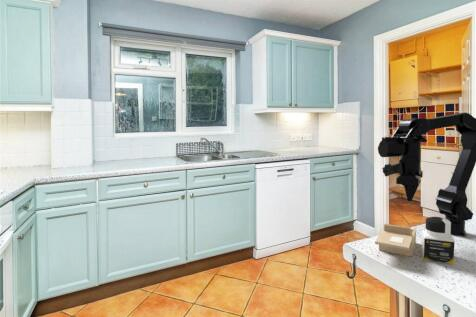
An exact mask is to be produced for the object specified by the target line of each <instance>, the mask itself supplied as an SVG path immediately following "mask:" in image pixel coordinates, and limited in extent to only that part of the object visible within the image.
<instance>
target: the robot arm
mask: <svg viewBox="0 0 476 317" xmlns="http://www.w3.org/2000/svg"><path fill="white" fill-rule="evenodd" d="M449 127H455V130H456V132H457V133H459V134H460V144H461V147H462V149H461V152H460V154H459V158H458V159H457V161H456V165H455V167H454V170H453V172H452V176H451V178H450V180H449V183H448V186H447V187H445V188H444V189H443V188H439V190H438V191H437V192H438V193H437V195H436V197H435V200H436V201H435V205H436V207H437V208H438V212H439V214H441V215H444V218H445V219H447V220H449V221H450V222H451V235H452V236H460V237H467V232H466V221H470V220H472V219H473V216H474V213H473V212H472V210H471V209H470V208H469V207H468V206H467V205H468V198H467V197H468V196H467V194H466V193H467V192H466V191H467V187H468V184H469V182H470V180H471V177H472V174H473V171H474V168H475V166H476V117H474V116H473V115H471V114H470V113H468V112H456V113H453V114H448V115H442V116H436V117H430V118H419V117H418V118H417V117H416V118H404V119H402V120H400V122H399V124H398V127H397V128H396V129H395V131H394V132H393V134H392V136H382V137H381V141H380V142H379V144H378V146H377V152H378V155H379V156H380V157H381V158H396V157H397V158H398V157H400V159H398V162H397V163H396V162H395V163H393V164H391V163H387V164H384V166H383V167H382V168H381V169H382V173H383V174H384V176H385V178H386V177H389V176H391V175H394V174H398V176H397V177H396V179H395V180H396V185H402V186H403V188H404V191H405V195H406V200H407V202H412V201H413V198H414V197H415V194H416V193H417V190H418V188H419V186H420V184H421V181H422V180H421V178H422V179H423V176H424V175H423V173H424V172H423V170H421V162H422V158H421V155H422V153H421V152H422V150H421V149H422V143H427V142H428V140H427V139H426V137H424V136H423V135H424V134H428V133H429V132H430V131H433V130H438V129H443V128H444V129H445V128H449Z"/></svg>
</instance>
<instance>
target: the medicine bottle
mask: <svg viewBox="0 0 476 317" xmlns="http://www.w3.org/2000/svg"><path fill="white" fill-rule="evenodd" d="M421 254H422V258H423V260H425V261H430V262H431V261H432V262H439V263H444V264H452V265H453V264H455V239H454V237H453V235H451V222H450V221H449V220H447V219H445V217H440V216H429V217H427V218H426V219H425V228H424V229H422V230H421Z"/></svg>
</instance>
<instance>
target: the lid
mask: <svg viewBox="0 0 476 317" xmlns="http://www.w3.org/2000/svg"><path fill="white" fill-rule="evenodd" d="M411 229H412V228H411V227H410V226H402V225H398V224H397V225H396V224H395V225H394V224H388V223H385V224H383V229H381V232H379V234H378V236H377V238H376V239H375V241H374V244H375V245H378V246H379V245H384V246H389V247H395V248H400V249H406V250H409V248H410V245H411V242H412V238H413V234H411Z"/></svg>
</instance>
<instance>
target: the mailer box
mask: <svg viewBox="0 0 476 317" xmlns="http://www.w3.org/2000/svg"><path fill="white" fill-rule="evenodd" d="M411 234H413V238H412V242H411V245H410V248H409V250H406V249H400V248H395V247H389V246H384V245H378V251H382V252H386V253H391V254H396V255H401V256H407V257H413V254H414V251H415V247H416V245H417V244H416V242H417V229H415V228H411Z"/></svg>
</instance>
